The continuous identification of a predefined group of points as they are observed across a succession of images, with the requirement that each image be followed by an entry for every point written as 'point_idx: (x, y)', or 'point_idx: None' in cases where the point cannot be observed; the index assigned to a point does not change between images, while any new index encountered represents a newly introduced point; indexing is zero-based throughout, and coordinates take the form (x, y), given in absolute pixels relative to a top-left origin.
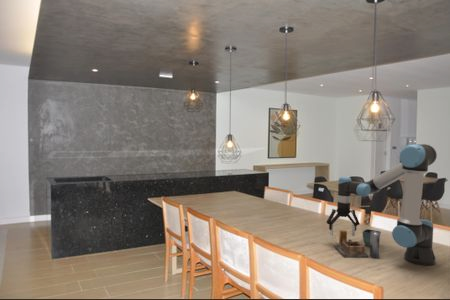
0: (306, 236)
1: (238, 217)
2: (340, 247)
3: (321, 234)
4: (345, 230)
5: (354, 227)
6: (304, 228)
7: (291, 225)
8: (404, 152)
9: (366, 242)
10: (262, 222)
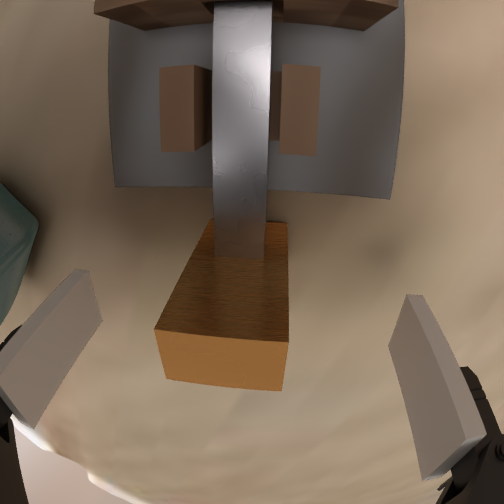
0: None
1: None
2: (348, 81)
3: (311, 441)
4: (168, 373)
5: (3, 355)
6: (349, 482)
7: (381, 492)
8: None
9: (18, 219)
10: None
